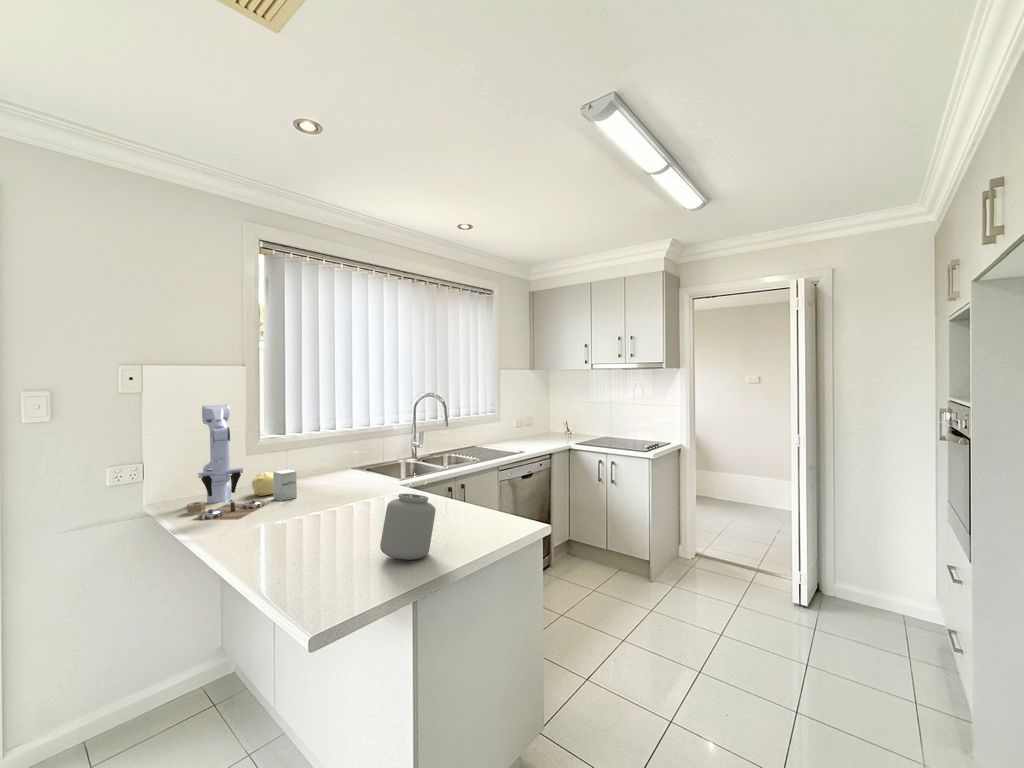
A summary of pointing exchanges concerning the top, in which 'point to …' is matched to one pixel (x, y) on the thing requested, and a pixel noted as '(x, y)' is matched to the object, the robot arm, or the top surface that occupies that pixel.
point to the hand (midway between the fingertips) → (221, 494)
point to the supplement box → (284, 485)
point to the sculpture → (263, 484)
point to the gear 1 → (210, 514)
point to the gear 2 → (253, 504)
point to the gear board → (233, 512)
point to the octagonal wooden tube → (195, 508)
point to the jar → (408, 527)
